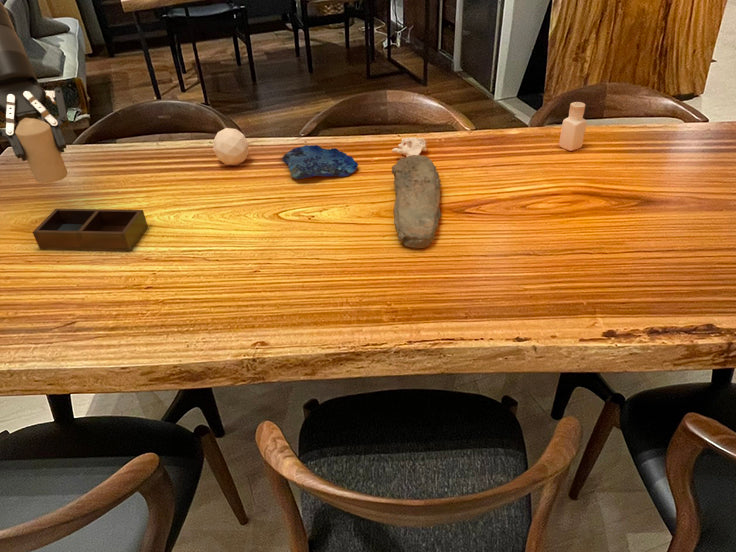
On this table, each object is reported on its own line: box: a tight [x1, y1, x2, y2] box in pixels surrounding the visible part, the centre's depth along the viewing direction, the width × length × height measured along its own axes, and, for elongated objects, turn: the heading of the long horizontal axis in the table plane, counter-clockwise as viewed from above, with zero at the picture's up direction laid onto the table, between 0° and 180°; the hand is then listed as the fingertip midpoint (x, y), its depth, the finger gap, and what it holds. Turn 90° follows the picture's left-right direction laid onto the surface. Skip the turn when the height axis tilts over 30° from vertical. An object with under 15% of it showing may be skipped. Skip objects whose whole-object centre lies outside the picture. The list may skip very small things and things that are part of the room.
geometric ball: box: [212, 127, 249, 166], centre depth 138 cm, size 8×8×8 cm
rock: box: [282, 144, 359, 180], centre depth 138 cm, size 15×17×2 cm
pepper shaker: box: [558, 101, 588, 152], centre depth 138 cm, size 4×4×10 cm
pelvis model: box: [391, 136, 428, 158], centre depth 140 cm, size 8×4×7 cm
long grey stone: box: [391, 154, 442, 249], centre depth 122 cm, size 35×5×10 cm
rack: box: [32, 208, 149, 252], centre depth 116 cm, size 17×9×4 cm, turn 85°
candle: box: [15, 118, 69, 184], centre depth 107 cm, size 6×6×10 cm
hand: (43, 154), depth 106 cm, fingers closed on candle, 5 cm apart
